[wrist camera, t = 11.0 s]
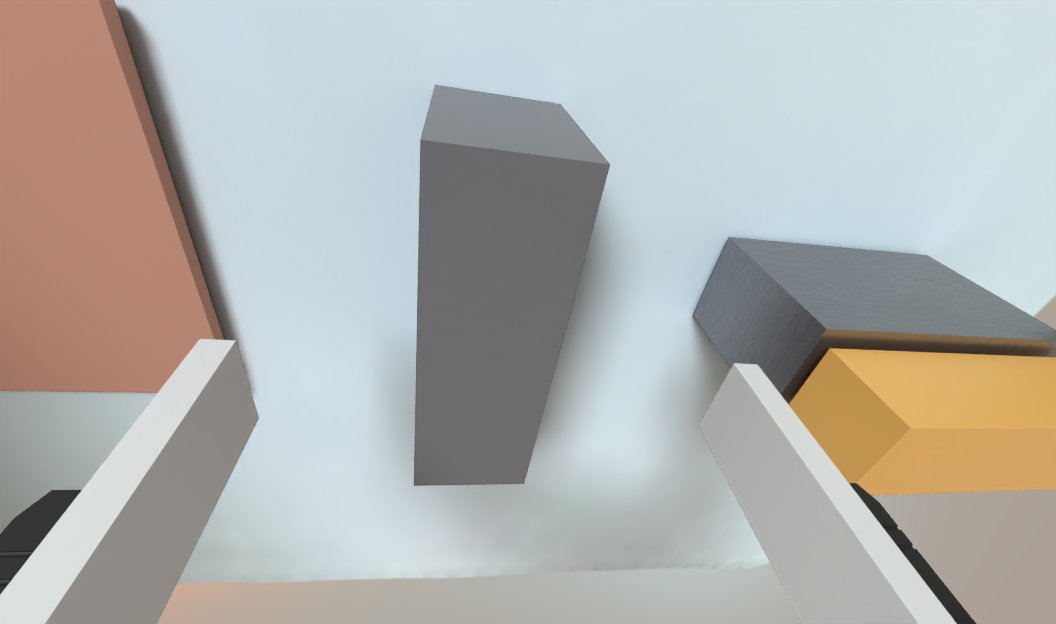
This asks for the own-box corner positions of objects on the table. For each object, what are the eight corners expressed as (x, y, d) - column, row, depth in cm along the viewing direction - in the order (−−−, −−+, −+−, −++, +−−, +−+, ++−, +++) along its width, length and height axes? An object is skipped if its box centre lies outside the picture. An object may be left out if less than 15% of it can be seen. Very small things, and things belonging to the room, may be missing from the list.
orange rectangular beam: (781, 414, 15) (842, 496, 13) (829, 348, 13) (910, 428, 11) (1008, 416, 17) (1098, 487, 14) (1076, 358, 15) (1191, 428, 13)
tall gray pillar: (425, 368, 20) (413, 485, 16) (435, 84, 14) (420, 139, 9) (509, 371, 21) (523, 483, 16) (560, 104, 14) (610, 164, 10)
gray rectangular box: (693, 315, 20) (764, 417, 15) (728, 237, 18) (826, 329, 13) (873, 324, 22) (987, 418, 17) (927, 255, 20) (1075, 341, 15)
